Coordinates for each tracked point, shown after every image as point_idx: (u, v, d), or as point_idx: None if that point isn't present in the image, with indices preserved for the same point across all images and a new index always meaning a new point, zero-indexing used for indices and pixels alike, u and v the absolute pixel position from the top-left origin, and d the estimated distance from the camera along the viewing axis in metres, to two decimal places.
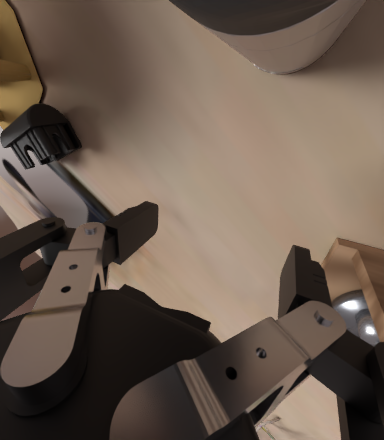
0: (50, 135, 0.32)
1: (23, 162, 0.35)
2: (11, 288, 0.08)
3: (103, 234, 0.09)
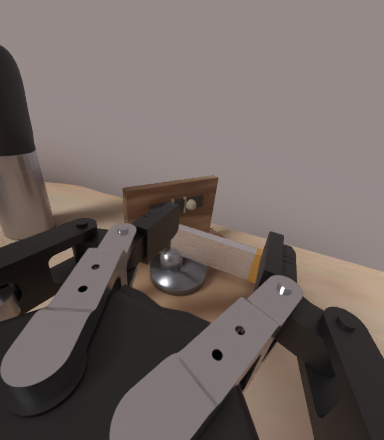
0: None
1: None
2: (38, 283, 0.08)
3: (133, 236, 0.09)
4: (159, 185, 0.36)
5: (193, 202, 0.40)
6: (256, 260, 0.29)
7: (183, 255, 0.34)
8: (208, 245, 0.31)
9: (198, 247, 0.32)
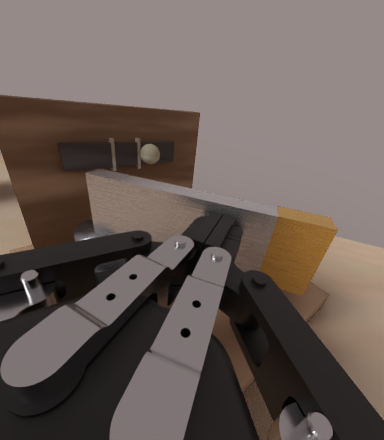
0: None
1: None
2: (82, 287, 0.08)
3: (186, 253, 0.09)
4: (76, 102, 0.18)
5: (153, 148, 0.23)
6: (280, 233, 0.12)
7: None
8: (167, 207, 0.14)
9: (146, 215, 0.14)
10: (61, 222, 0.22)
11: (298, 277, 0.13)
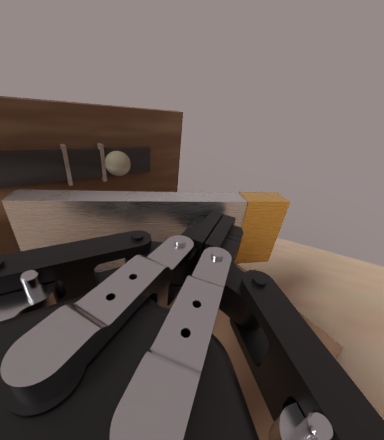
0: None
1: None
2: (82, 287, 0.08)
3: (186, 253, 0.09)
4: (8, 97, 0.14)
5: (120, 156, 0.18)
6: (250, 216, 0.14)
7: None
8: (137, 218, 0.12)
9: (111, 234, 0.12)
10: (2, 250, 0.17)
11: (265, 247, 0.15)
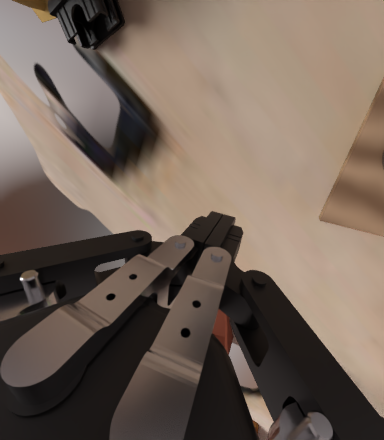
0: None
1: (67, 30, 0.35)
2: (82, 287, 0.08)
3: (186, 253, 0.09)
4: None
5: None
6: None
7: None
8: None
9: None
10: None
11: None
